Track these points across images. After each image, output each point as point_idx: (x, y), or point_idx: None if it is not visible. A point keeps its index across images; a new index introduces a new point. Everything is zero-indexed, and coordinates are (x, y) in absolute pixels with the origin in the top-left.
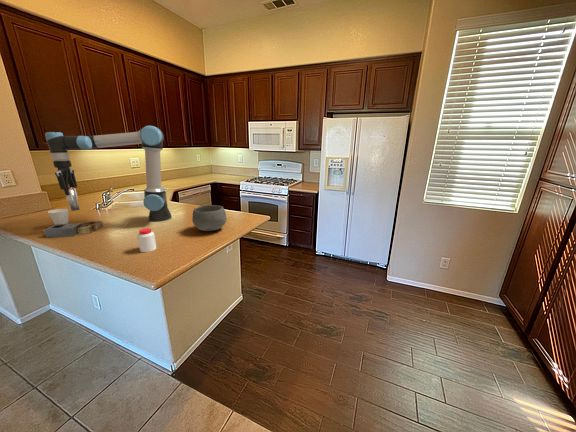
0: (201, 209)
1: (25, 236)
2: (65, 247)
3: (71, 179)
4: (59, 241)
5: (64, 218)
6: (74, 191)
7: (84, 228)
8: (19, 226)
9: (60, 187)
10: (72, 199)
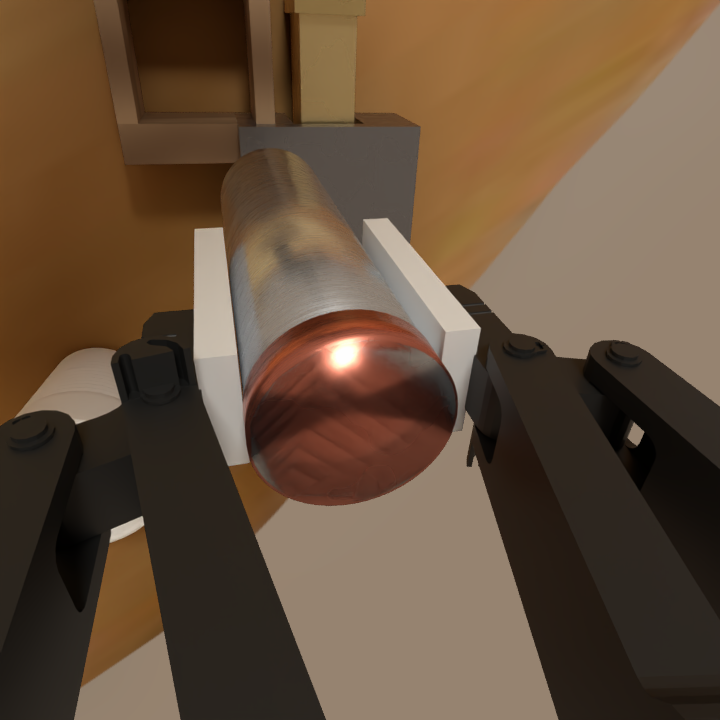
0: None
1: None
2: (656, 23)
3: (285, 655)
4: (496, 160)
5: (107, 385)
6: (314, 278)
7: (355, 34)
8: (110, 611)
9: (634, 460)
10: (386, 224)
